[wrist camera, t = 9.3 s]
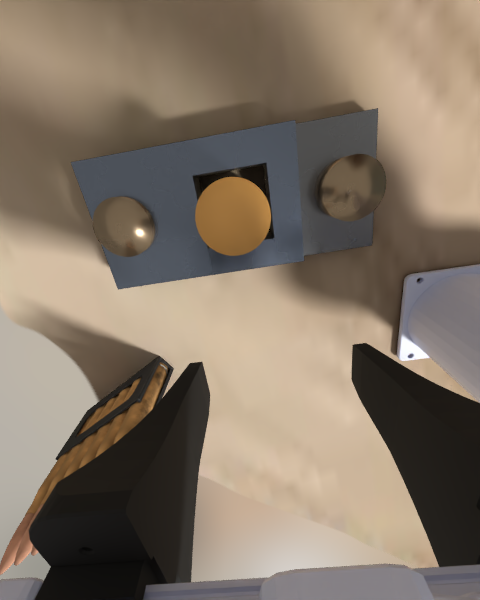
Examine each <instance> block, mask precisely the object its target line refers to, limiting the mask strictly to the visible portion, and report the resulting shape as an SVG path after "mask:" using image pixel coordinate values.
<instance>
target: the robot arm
mask: <svg viewBox="0 0 480 600" xmlns="http://www.w3.org/2000/svg"><path fill="white" fill-rule="evenodd" d="M418 278H420V280H419V281H418V282H417V279H418ZM410 353H411V354H410ZM409 354H410V355H409ZM397 357H398V358H399V359H400V360H401V361H407V360H415V359H423V358H431V359H432V360H433V361H434V362H435V363H437V364H438V365H439V366H440V367H441V368H442V369H443V370H444V371H445V372H446V373H447V374H449V375H450V376H451V377H452V378H453V379H454V380H455V381H456V382H457V383H458V384H460V385H461V386H462V387H463V388H464V389H465V390H466V391H467V392H468V393H469V394H470V395H472V396H473V397H474V398H475V399H476V400H477V401H478V402H479V403H478V402H476V401H473V400H470V399H468V398H466V397H463V396H461V395H459V394H456V393H454V392H452V391H450V390H448V389H446V388H443V387H441V386H439V385H437V384H435V383H433V382H431V381H429V380H427V379H426V378H424V377H422V376H420V375H418V374H416V373H414V372H413V371H411V370H409V369H408V368H406V367H404V366H402V365H401V364H399V363H397V362H396V361H394V360H393V359H391V358H389V357H388V356H386V355H385V354H383V353H381V352H380V351H378V350H377V349H375V348H373V347H372V346H370V345H368V344H367V343H363V344H354V345H353V353H352V381H353V384H354V386H355V389H356V391H357V393H358V396H359V398H360V400H361V402H362V404H363V405H364V407H365V409H366V410H367V412H368V414H369V416H370V417H371V419H372V421H373V422H374V424H375V426H376V428H377V429H378V431H379V433H380V434H381V436H382V438H383V440H384V441H385V443H386V445H387V447H388V449H389V450H390V452H391V454H392V456H393V458H394V461H395V463H396V465H397V467H398V469H399V471H400V474H401V476H402V478H403V480H404V482H405V485H406V487H407V489H408V491H409V494H410V496H411V498H412V500H413V503H414V505H415V507H416V510H417V512H418V515H419V517H420V519H421V522H422V524H423V527H424V529H425V531H426V534H427V536H428V539H429V541H430V544H431V546H432V549H433V552H434V554H435V557H436V559H437V562H438V564H439V567H432V568H416V569H411V568H409V567H407V566H405V565H395V564H373V565H358V566H342V567H326V568H310V569H295V570H289V571H284V572H279V573H276V574H274V575H273V576H271V577H269V578H253V579H238V580H222V581H204V582H191V569H192V550H193V534H194V518H195V517H194V516H195V506H196V505H195V504H196V493H197V482H198V472H199V465H200V459H201V453H202V448H203V443H204V438H205V432H206V427H207V422H208V416H209V405H210V392H209V388H208V384H207V379H206V375H205V371H204V367H203V363H202V362H197V363H190V364H189V365H188V366H187V368H186V369H185V370H184V372H183V373H182V374H181V376H180V377H179V378H178V379H177V381H176V382H175V383H174V385H173V386H172V387H171V388H170V390H169V391H168V392H167V393H166V395H165V396H164V397H163V398H162V399H161V400H160V401H159V403H158V404H157V405H156V406H155V407H154V408H153V409H152V410H151V411H150V412H149V413H148V414H147V415H146V416H145V417H144V418H143V419H142V420H141V421H140V422H139V423H138V424H137V425H136V426H135V427H134V428H133V429H131V430H130V431H129V432H128V433H127V434H125V435H124V436H123V437H122V438H121V439H120V440H118V441H117V442H116V443H115V444H113V445H112V446H111V447H109V448H108V449H107V450H105V451H104V452H103V453H101V454H100V455H99V456H97V457H96V458H94V459H93V460H92V461H90V462H89V463H87V464H86V465H84V466H83V467H81V468H79V469H78V470H76V471H75V472H73V473H72V474H70V475H68V476H67V477H65V478H64V479H62V480H60V481H59V482H57V484H56V485H55V487H54V489H53V490H52V492H51V493H50V495H49V497H48V498H47V500H46V501H45V503H44V505H43V506H42V508H41V510H40V511H39V513H38V514H37V516H36V518H35V519H34V521H33V522H32V524H31V526H30V529H29V538H30V541H31V543H32V544H33V546H34V547H35V548H36V550H37V551H38V552H39V553H40V554H41V555H42V557H43V558H44V559H45V560H46V561H47V562H48V564H49V565H50V566H51V568H50V570H49V572H48V574H47V576H46V578H45V580H44V581H43V580H41V579H38V578H16V579H2V580H0V600H480V264H477V265H470V266H463V267H456V268H449V269H442V270H435V271H429V272H422V273H415V274H410V275H408V276H406V278H405V280H404V287H403V297H402V307H401V317H400V327H399V337H398V348H397Z"/></svg>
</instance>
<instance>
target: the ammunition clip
mask: <svg viewBox="0 0 480 600" xmlns="http://www.w3.org/2000/svg"><path fill="white" fill-rule="evenodd" d="M172 372H173V368H172V367H171V366H170V365H169V364H168V363H167V362H165V361H164V360H163V359H162V358H161V357H157V358H156V359H155V360H153V361H152V362H151V363H149V364H148V365H147V366H145V367H144V368H143V369H142V370H140V371H139V372H138V373H136V374H135V375H134V376H132V377H131V378H130V379H128V380H127V381H126V382H124V383H123V384H122V385H121V386H119V387H118V388H117V389H115V390H114V391H113V392H111V393H110V394H109V395H107V396H106V397H105V398H103V399H102V400H101V401H100V402H98V403H97V404H96V405H94V406H93V407H92V408H90V409H89V410H88V411H87V412H86V414H85V415H84V417H83V418H82V420H81V421H80V423H79V424H78V426H77V427H76V429H75V430H74V432H73V433H72V435H71V436H70V438H69V439H68V441H67V442H66V444H65V445H64V447H63V448H62V450H61V451H60V453H59V454H58V456H57V457H56V460H58V461H57V462H56V464H55V465H54V467H53V468H52V470H51V471H50V473H49V475H48V476H47V478H46V479H45V481H44V482H43V484H42V485H41V487H40V489H39V490H38V492H37V494H36V496H35V499H34V501H33V503H32V505H31V506H30V508H29V509H28V511H27V513H26V515H25V517H24V518H23V520H22V522H21V523H20V525H19V526H18V528H17V530H16V532H15V533H14V535H13V537H12V539H11V541H10V543H9V545H8V547H7V549H6V551H5V553H4V556H3V558H2V561H1V564H0V575H1V574H3V573H4V572H5V571H6V570H7V569H8V568H9V567H10V566H11V565H12V564H13V563H14V565H18V564H20V563H21V562H22V561H23V560H24V559H25V558H26V557H27V555H28V554H29V553H30V552H31V554H32V555H33V556H34V555H35V554H37V553H38V551H37V550H36V548H35V547H34V546H33V544H32V543H31V541H30V538H29V529H30V526H31V524H32V522H33V521H34V519H35V518H36V516H37V514H38V513H39V511H40V510H41V508H42V506H43V505H44V503H45V501H46V500H47V498H48V497H49V495H50V493H51V492H52V490H53V489H54V487H55V485H56V484H57V482H59V481H60V480H62V479H64V478H65V477H67V476H68V475H70V474H72V473H73V472H75V471H76V470H78V469H79V468H81V467H83V466H84V465H86V464H87V463H89V462H90V461H92V460H93V459H94V458H96V457H97V456H99V455H100V454H101V453H103V452H104V451H105V450H107V449H108V448H109V447H111V446H112V445H113V444H115V443H116V442H117V441H118V440H120V439H121V438H122V437H123V436H124V435H125V434H127V433H128V432H129V431H130V430H131V429H133V428H134V427H135V426H136V425H137V424H138V423H139V422H140V421H141V420H142V419H143V418H144V417H145V416H146V415H147V414H148V413H149V412H150V411H151V410H152V409H153V408H154V407H155V406H156V405H157V404H158V403H159V401H160V400H161V399H162V397H163V395H164V392H165V390H166V387H167V385H168V382H169V380H170V377H171V374H172Z"/></svg>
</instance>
